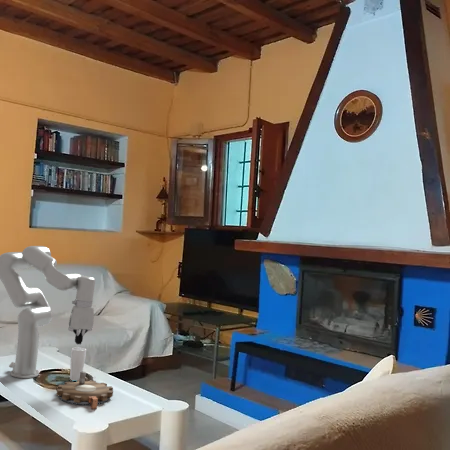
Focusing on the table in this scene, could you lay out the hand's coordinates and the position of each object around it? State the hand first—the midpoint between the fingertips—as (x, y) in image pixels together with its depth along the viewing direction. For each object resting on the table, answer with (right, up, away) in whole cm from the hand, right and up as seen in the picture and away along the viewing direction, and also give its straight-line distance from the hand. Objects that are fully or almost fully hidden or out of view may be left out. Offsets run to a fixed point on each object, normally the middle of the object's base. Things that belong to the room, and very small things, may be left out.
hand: (78, 343), depth 237 cm
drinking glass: (-4, -20, +8) cm, 22 cm away
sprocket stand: (+6, -20, -11) cm, 24 cm away
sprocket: (+6, -19, -11) cm, 23 cm away
